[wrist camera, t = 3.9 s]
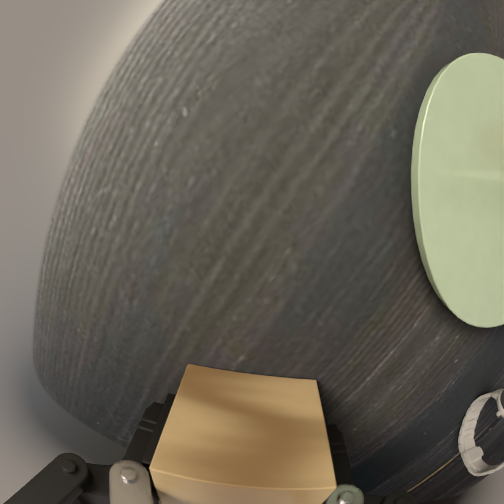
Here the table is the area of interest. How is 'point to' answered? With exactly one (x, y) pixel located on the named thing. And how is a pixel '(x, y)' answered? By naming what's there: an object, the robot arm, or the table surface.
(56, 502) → the robot arm
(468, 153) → the lid
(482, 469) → the wristwatch
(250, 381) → the block
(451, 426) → the table surface
